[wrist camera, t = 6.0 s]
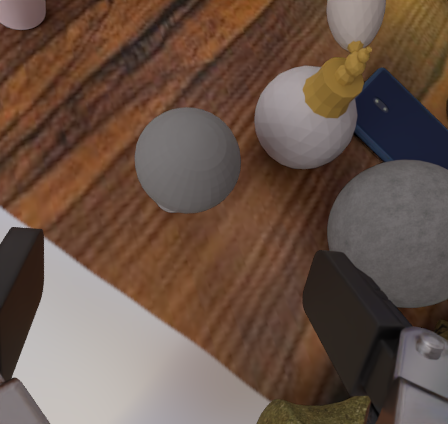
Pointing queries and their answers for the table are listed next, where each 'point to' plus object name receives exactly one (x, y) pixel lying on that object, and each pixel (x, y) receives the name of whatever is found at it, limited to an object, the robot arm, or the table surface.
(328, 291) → the robot arm
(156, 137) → the light bulb
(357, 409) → the stone tool
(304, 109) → the perfume bottle
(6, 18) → the smoothie
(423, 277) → the decorative ball
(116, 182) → the table surface
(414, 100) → the smartphone
